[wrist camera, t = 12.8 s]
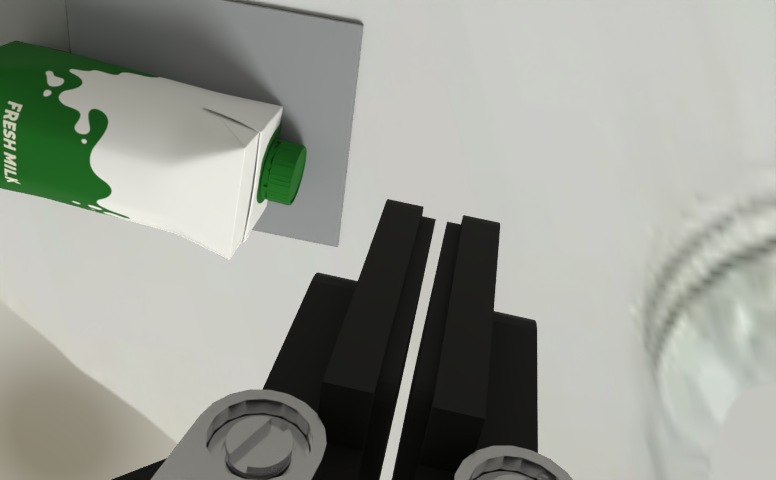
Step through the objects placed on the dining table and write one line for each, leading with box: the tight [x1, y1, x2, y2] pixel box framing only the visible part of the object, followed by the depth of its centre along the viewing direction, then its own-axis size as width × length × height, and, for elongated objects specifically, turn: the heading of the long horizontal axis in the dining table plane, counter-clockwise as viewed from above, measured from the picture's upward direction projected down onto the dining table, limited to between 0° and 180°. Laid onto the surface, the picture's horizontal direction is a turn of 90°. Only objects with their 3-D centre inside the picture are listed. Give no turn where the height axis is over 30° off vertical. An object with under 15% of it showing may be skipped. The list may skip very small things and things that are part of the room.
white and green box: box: [0, 41, 307, 260], centre depth 46 cm, size 9×9×20 cm
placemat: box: [65, 0, 363, 247], centre depth 50 cm, size 16×19×1 cm
